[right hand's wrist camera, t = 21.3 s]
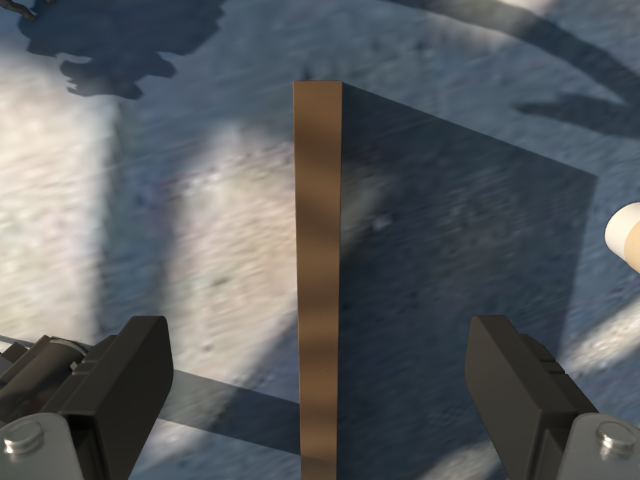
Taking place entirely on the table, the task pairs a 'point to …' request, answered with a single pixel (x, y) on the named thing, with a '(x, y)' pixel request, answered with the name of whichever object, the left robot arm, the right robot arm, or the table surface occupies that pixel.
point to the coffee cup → (625, 234)
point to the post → (318, 268)
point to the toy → (20, 8)
